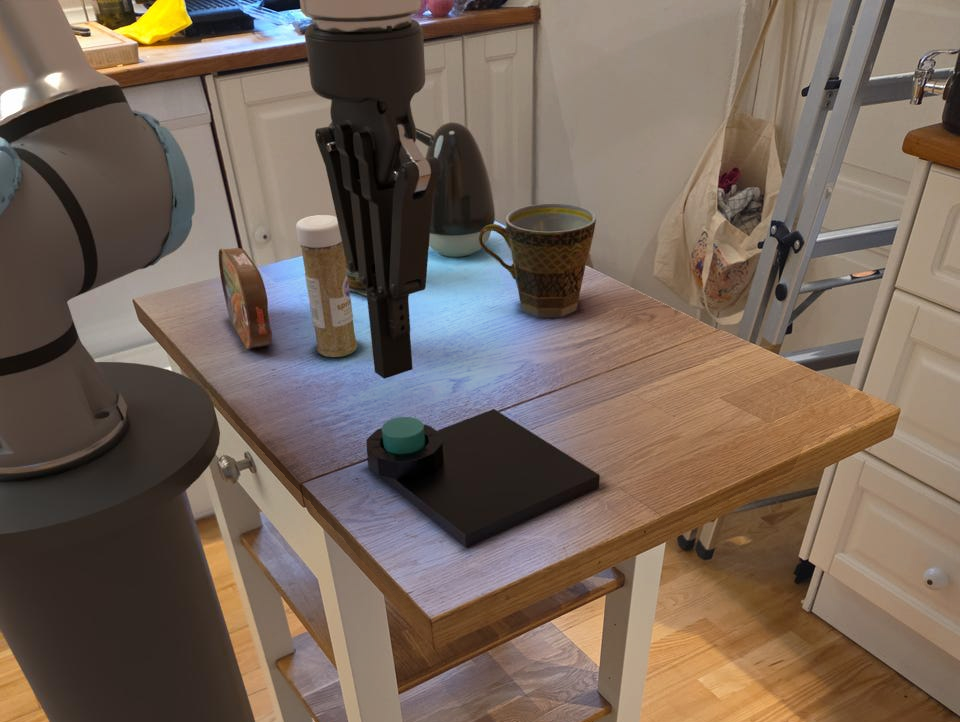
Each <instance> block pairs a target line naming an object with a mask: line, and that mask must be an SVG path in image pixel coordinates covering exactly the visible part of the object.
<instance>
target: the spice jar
mask: <svg viewBox="0 0 960 722" xmlns="http://www.w3.org/2000/svg"><path fill="white" fill-rule="evenodd" d="M295 226H296V234H297V235H296V236H297V241H298V244H299V246H300V248H301V255H302V261H303V265H304V266H303V267H304V278H305V284H306V290H307V294H308V295H307V296H308V302H309V308H310V313H311V319H312V324H313V326H314V327H313V328H314V333H315V339H316V351H317V352H318V354H320V355H321V356H323V357H324V356H325V357H327V358H341V357H345V356H347V355H351V354H352V353H354V352H356V350H357V348H358V341H357V339H356V333H355V326H354V314H353V307H352V298H351V291H350V290H349V283H348V277H347V273H346V265H345V259H344V250H343V244H342V239H341V235H340V230H339V226H338V221H337V217H336V215H330V214H318V215H311V216H306V217H303V218H301V219H299V220H298V221H297V222H296V224H295Z"/></svg>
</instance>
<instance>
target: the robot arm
mask: <svg viewBox="0 0 960 722" xmlns="http://www.w3.org/2000/svg"><path fill="white" fill-rule="evenodd" d="M299 5H300V12H301V13H302V15H304V16H305V17H306V18H309V19H311V23H310V24H309V25H307V27H306V30H305V32H304V40H305V41H304V42H305V49H306V55H307V64H308V72H309V80H310V86H311V89H312V90H313V92H314V93H315V94H316V95H318V96H319V97H322V98H323V99H326V100H330V120H331V122H330V124H329V125H328V126H324V127H317V128H316V129H315V132H314V137H315V141H316V144H317V147H318V150H319V152H320V155H321V158H322V161H323V163H324V166H325V170H326V175H327V180H328V185H329V188H330V189H329V190H330V193H331V197H332V203H333V207H334V211H335V217H337V221H338V226H339V230H340V235H341V239H342V244H343V249H344V253H345V258H346V262H347V266H348V269H349V271H350V272H351V273H356V272H358V274H359V279H360V282H361V285H362V287H363V288H364V289H366V291H367V296H366V301H367V310H368V320H369V329H370V340H371V349H372V358H373V367H374V373H375V374H377V375H378V376H380V377H381V378H382V379H384V380H386V379H388V378H391V377H394V376H397V375H400V374H403V373H406V372H409V371H412V370H413V355H412V344H411V343H412V341H411V319H410V316H411V315H410V303H409V302H410V301H409V296H410V295H411V294H415V293H418V292H422V291H425V289H426V286H427V275H428V262H429V251H430V250H429V249H430V246H429V239H430V227H431V214H432V202H433V193H434V190H435V187H436V184H437V181H438V178H439V176H440V171H441V170H440V163H439V161H438V159H437V158H436V157H431V158H426V159H425V156H423V154H422V152H421V150H420V149H419V147H418V145H417V144H416V141H417V139H416V128H417V127H416V124H415V120H414V117H413V112H412V108H411V107H412V105H411V102H412V100H413V97H414V96H415V94H417V93H419V92H421V91H422V89H423V88H424V87H425V85H426V62H425V61H426V60H425V45H424V28H423V27H422V26H420V22H418V20H415V19H413V17H412V16H413V15H415V14H417V13H418V12H419V10H420V9H421V7H422V0H299ZM195 210H196V196H195V187H194V182H193V178H192V173H191V170H190V167H189V164H188V161H187V159H186V157H185V154H184V152H183V149H182V147H181V146H180V144H179V143H178V140H176V138H175V137H174V135H173V134H172V132H171V131H170V130H169V129H168V128H167V127H166V126H162V125H161V124H160V121H159V120H158V119H157V118H155V116H153V115H150V114H148V113H146V112H141V111H138V110H132V108H131V106H130V103H129V102H128V99H127V97H126V96H125V93H124V92H123V89H122V87H121V85H120V83H119V82H118V81H117V80H115V79H113V78H111V77H109V76H107V75H106V74H103V73H102V72H100V71H98V70H96V69H95V68H94V67H93V66H92V65H91V63H89V61H88V58H87V56H86V54H85V52H84V50H83V48H82V46H81V44H80V42H79V40H78V37H77V36H76V33H75V31H74V30H73V28H72V26H71V24H70V21H69V20H68V18H67V16H66V14H65V12H64V9H63V8H62V6H61V3H60V1H59V0H0V482H13V481H26V480H33V479H39V478H45V477H49V476H53V475H57V474H61V473H64V472H67V471H70V470H73V469H76V468H78V467H81V466H83V465H85V464H88V463H90V462H92V461H94V460H95V459H97V458H99V457H101V456H102V455H104V454H105V453H107V452H108V451H110V450H111V449H112V448H114V447H115V446H116V445H117V444H118V443H119V442H120V441H121V440H122V439H123V437H124V436H125V434H126V433H127V430H128V428H129V417H128V414H127V405H126V403H125V401H124V399H123V397H122V395H121V393H120V394H119V393H118V391H117V390H116V389H115V387H114V386H113V385H112V383H111V382H110V381H109V379H108V378H107V377H106V375H105V374H104V373H103V371H102V370H101V369H100V367H99V366H98V365H97V363H96V362H97V361H96V360H95V359H94V358H93V356H92V355H91V353H90V352H89V351H88V350H87V348H86V347H85V346H84V344H83V342H82V341H81V338H80V336H79V332H78V330H77V327H76V325H75V322H74V319H73V316H72V312H71V309H70V306H69V303H68V302H69V301H70V300H72V299H74V298H76V297H78V296H80V295H83V294H86V293H88V292H90V291H93V290H95V289H98V288H100V287H102V286H105V285H106V284H108V283H111V282H114V281H116V280H118V279H120V278H123V277H124V276H127V275H130V274H132V273H134V272H137V271H138V270H143V269H147V268H149V267H150V266H154V265H157V263H158V262H159V261H160V260H161V259H163V258H165V257H167V256H169V255H170V254H173V253H174V252H176V251H177V250H179V249H180V248H181V247H182V246H183V244H184V243H185V242H186V240H187V239H188V237H189V235H190V233H191V230H192V226H193V216H194V214H195Z"/></svg>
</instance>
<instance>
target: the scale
mask: <svg viewBox="0 0 960 722" xmlns="http://www.w3.org/2000/svg"><path fill="white" fill-rule="evenodd" d="M423 425H424V433H425V446H424V448H423V449H421V450H419V451H416V452H414V453H409V454H396V453H391V452H387V451H386V450H385V448H384V444H383V436H382V427H380V428H378V429H376V430H374V432H372V433H371V434H370V435H369V436H368V437H367V439H366V441H365V442H366V455H367V457H366V458H367V467H368V470H369V471H371V473H373V474H374V475H375V476H377V478H379V479H380V480H381V481H383V482H384V483H386V485H388V486H389V487H390V488H391V489H393V490H394V491H395V492H396V493H398V495H400V496H402V497H403V498H404V499H406V501H408V502H409V504H411V505H412V506H414V507H415V508H416V509H417V510H419V511H420V512H421V513H422V514H423V515H424V516H426V517H427V518H428V519H429V520H431V521H432V522H433V523H434V524H436V525H437V526H438V527H439V528H441V529H442V530H443V531H444V532H445V533H446V534H448V535H449V536H451V537H452V539H454V540H455V541H457V542H458V543H459V544H460V545H461V546H463V547H464V548H469V547H471V546H473V545H475V544H478V543H480V542H482V541H485V540H486V539H488V538H491V537H493V536H496V535H498V534H500V533H502V532H504V531H506V530H508V529H510V528H513V527H515V526H517V525H519V524H522V523H524V522H526V521H528V520H530V519H532V518H534V517H537V516H539V515H541V514H543V513H546V512H547V511H550V510H552V509H554V508H556V507H558V506H561V505H563V504H565V503H567V502H569V501H571V500H574V499H576V498H578V497H581V496H583V495H584V494H587V493H589V492H591V491H594V490H596V489H598V488H600V480H601V475H600V474H599V473H597V472H596V471H595V470H593V469H592V468H590V467H588V466H586V465H585V464H584V463H581V462H580V461H578V460H576V459H575V458H573V457H571V456H570V455H569V454H567V453H565V452H564V451H562V450H561V449H559V448H557V446H554V445H553V444H551V443H550V442H548V441H546V440H544V439H543V438H541V437H540V436H538V435H537V434H535V433H534V432H532V431H530V430H528V428H525V427H524V426H522V425H520V424H519V423H517V422H516V421H514V420H513V419H512V418H510V417H508V416H507V415H505V414H503V413H502V412H500V411H498V410H497V409H495V408H492V409H489V410H487V411H484V412H481V413H479V414H477V415H474V416H471V417H468V418H466V419H463V420H461V421H458V422H455V423H453V424H451V425H448V426H445V427H443V428H440V429H437V430H436V429H435V428H434V427H432V426H430V425H427V424H423Z"/></svg>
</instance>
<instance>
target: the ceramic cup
mask: <svg viewBox="0 0 960 722" xmlns="http://www.w3.org/2000/svg"><path fill="white" fill-rule="evenodd" d="M596 223H597V216H596V214H595V213H594V212H592V211H591V210H590V209H588V208H586V207H582V206H578V205H574V204H567V203H538V204H531V205H526V206H522V207H519V208H516V209H514V210H512V211H510V212H509V213H508V214H507V215H506V216H505V225H506V226H505V228H504V227H503V226H501V225H500V224H496V223H494V224H490V225H487V226H485V227H484V228H483V229H482V230H481V232H480V235H479V243H480V245H481V247H482V248H481V249H482V250H483V251H484V252H485V253H486V254H488V255H490V256H491V257H492V258H494V259H495V260H496V261H497V262H498V263H499V264H500V265H501V266H502V267H503V268H504V269H506V270H507V271H508V272H509V274H510V275H511V277H512V279H514V280H515V283H516V287H517V291H518V298H519V303H520V309H521V312H522V313H524V314H527V315H530V316H533V317H535V318H539V319H544V318H545V319H548V318H563V317H565V316H567V315H569V314H571V313H574V312H575V311H577V308H578V303H579V299H580V294H581V288H582V284H583V280H584V276H585V270H586V264H587V262H588V258H589V255H590V252H591V248H592V243H593V239H594V234H595V228H596ZM487 231H491V232H496V233H497V234H499V235H500V236H501V237H502V238H503V240H504V241H505V243H506V244H507V246H508V248H509V250H510V252H511V259H512V264H511V265H509V264H507V263H505V261H504V260H503V258H501V257H500V256H499V255H498V254H497V253H495V252H494V251H493V250H491V249H489V247H487V246H486V244H485V245H484V244H483V241H482V237H483V234H484V233H485V232H487Z"/></svg>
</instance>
